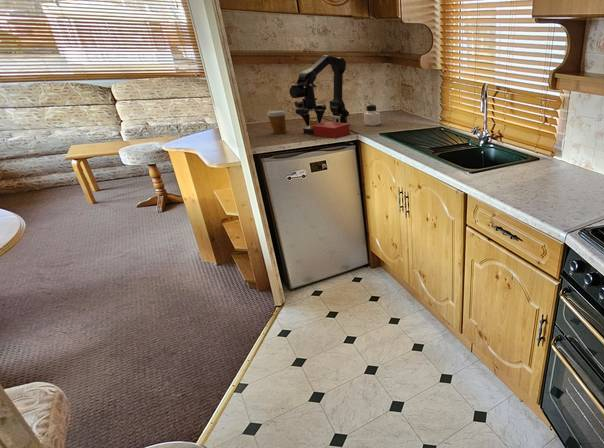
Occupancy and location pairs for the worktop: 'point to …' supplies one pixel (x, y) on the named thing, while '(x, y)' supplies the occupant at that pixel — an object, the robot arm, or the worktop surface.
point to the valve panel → (308, 130)
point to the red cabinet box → (331, 132)
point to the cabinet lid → (332, 124)
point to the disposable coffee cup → (277, 121)
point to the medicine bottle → (371, 116)
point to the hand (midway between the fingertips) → (313, 124)
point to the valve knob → (313, 122)
